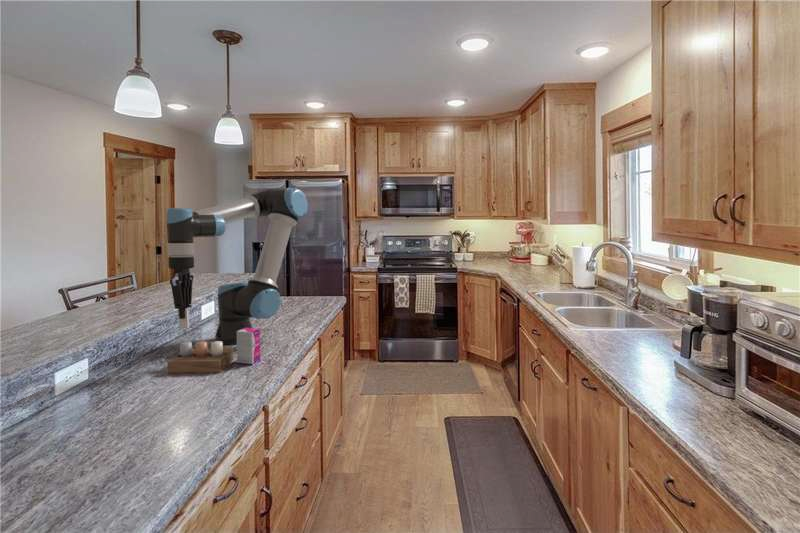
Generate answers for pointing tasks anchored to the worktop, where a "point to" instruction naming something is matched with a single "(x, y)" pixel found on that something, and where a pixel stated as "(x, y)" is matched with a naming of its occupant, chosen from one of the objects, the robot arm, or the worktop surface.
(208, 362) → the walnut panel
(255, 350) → the supplement box
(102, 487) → the worktop surface
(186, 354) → the pale blue egg
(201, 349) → the brown egg
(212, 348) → the white egg
